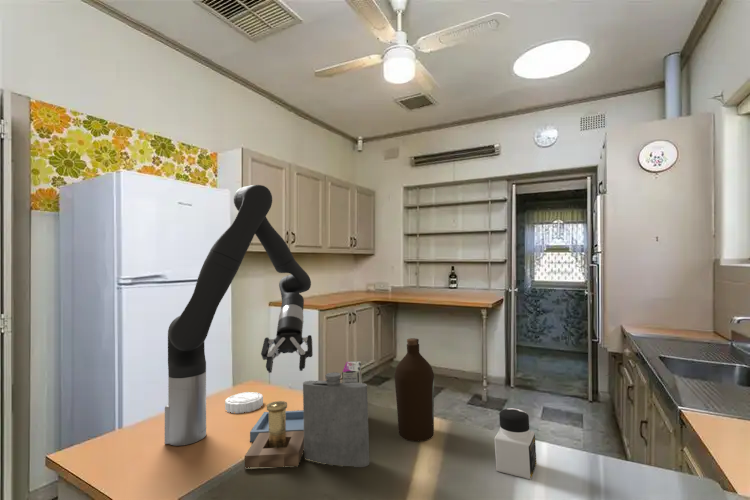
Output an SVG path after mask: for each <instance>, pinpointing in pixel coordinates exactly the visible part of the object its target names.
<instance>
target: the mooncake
mask: <svg viewBox="0 0 750 500" xmlns="http://www.w3.org/2000/svg"><path fill="white" fill-rule="evenodd" d="M224 402H225V403H224V411H225V410H227V411H226V412H227V413H230V412H231V413H230V414H245V413H250V412H254V411H256V410H258V409H259V410H260V408H262V407H263V405H264V396H263V394H262V393H260V392H257V391H255V392H252V391H250V392H249V391H245V392H239V393H236V394H232V395H231V396H228V397H227V398H226V399H225V400H224ZM261 406H262V407H261ZM234 412H235V413H234ZM244 412H245V413H244Z"/></svg>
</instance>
